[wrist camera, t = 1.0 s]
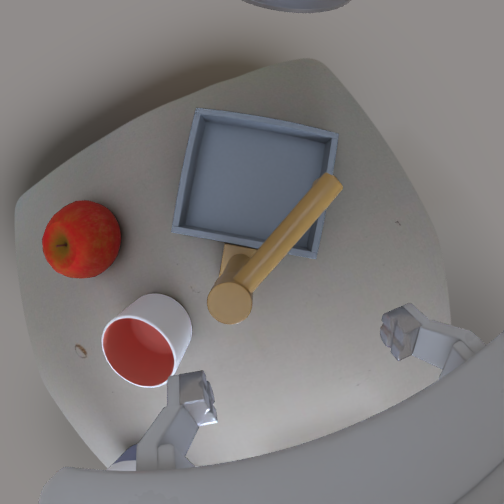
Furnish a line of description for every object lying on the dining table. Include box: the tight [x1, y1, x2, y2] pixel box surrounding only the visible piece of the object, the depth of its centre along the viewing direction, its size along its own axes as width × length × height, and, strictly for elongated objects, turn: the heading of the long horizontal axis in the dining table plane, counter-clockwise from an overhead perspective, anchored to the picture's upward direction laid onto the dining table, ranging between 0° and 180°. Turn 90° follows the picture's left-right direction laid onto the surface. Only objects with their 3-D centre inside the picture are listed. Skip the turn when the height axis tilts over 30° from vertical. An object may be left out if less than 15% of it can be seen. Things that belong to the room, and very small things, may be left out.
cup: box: [102, 293, 192, 388], centre depth 35 cm, size 10×10×10 cm
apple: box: [42, 200, 121, 278], centre depth 32 cm, size 11×11×11 cm
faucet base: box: [219, 243, 258, 277], centre depth 32 cm, size 5×5×12 cm
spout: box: [207, 172, 343, 324], centre depth 24 cm, size 15×4×5 cm, turn 139°
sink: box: [171, 108, 339, 259], centre depth 34 cm, size 16×18×4 cm
